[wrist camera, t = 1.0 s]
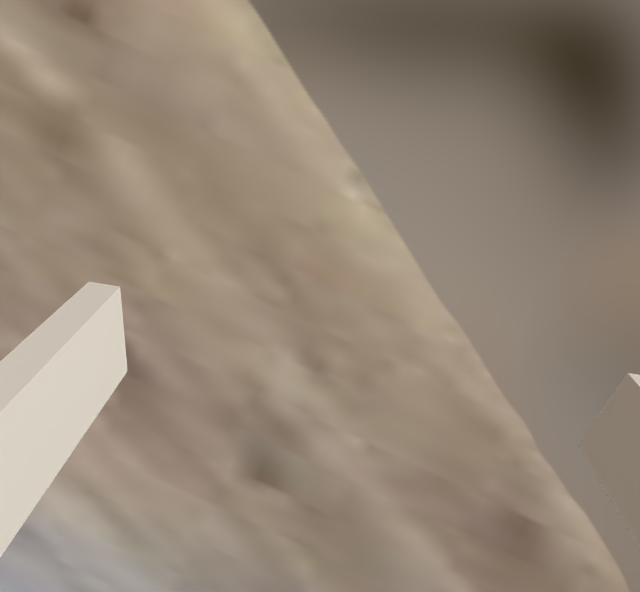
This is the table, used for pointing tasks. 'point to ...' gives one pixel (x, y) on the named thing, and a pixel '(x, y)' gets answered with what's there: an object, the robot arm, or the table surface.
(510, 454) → the table surface
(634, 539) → the robot arm
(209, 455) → the table surface
